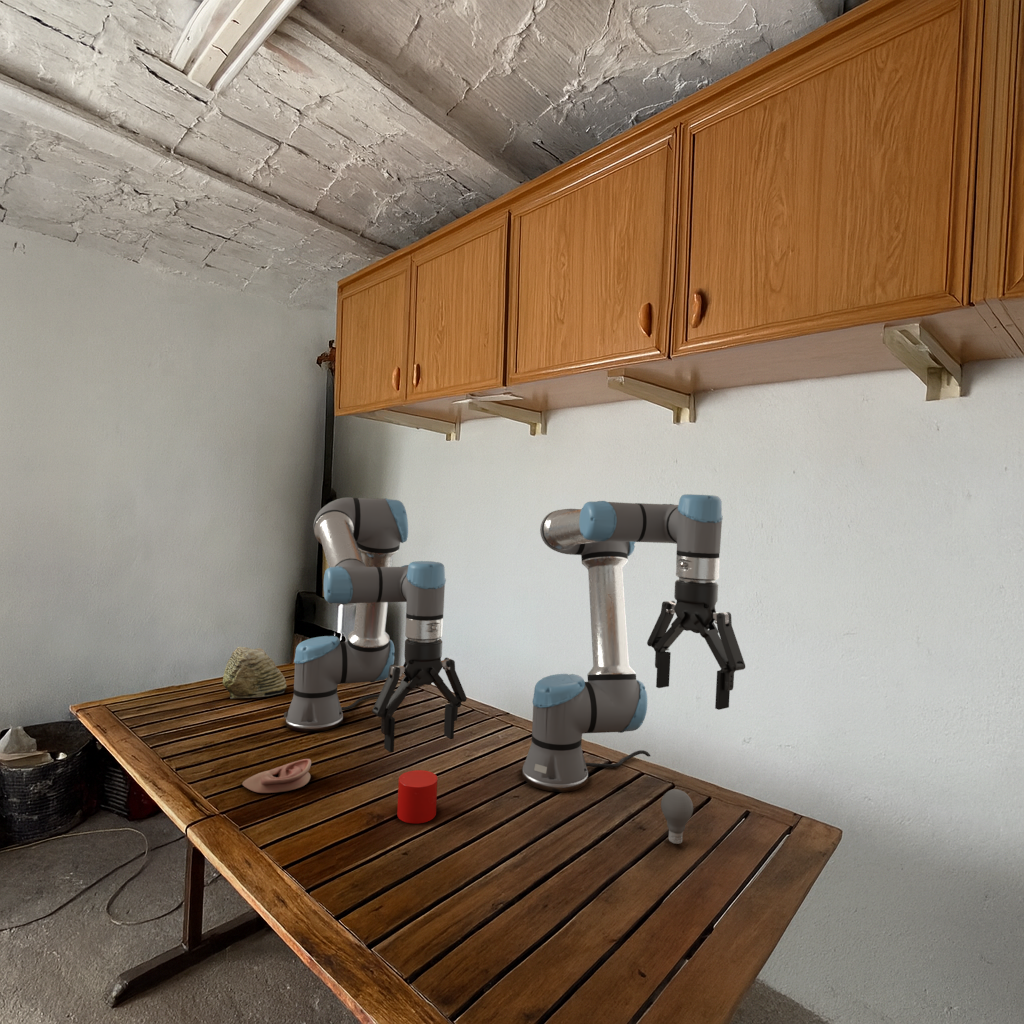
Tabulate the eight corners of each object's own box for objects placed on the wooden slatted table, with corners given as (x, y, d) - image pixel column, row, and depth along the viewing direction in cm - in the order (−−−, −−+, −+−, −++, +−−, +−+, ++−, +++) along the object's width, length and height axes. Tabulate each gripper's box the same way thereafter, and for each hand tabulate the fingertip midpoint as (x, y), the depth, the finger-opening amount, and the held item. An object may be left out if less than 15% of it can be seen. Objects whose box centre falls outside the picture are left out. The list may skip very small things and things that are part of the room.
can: (390, 819, 126) (391, 782, 126) (408, 801, 133) (409, 767, 133) (426, 826, 124) (427, 789, 123) (442, 808, 131) (443, 773, 131)
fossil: (218, 695, 195) (220, 647, 195) (278, 685, 208) (279, 640, 207) (228, 703, 189) (230, 653, 188) (289, 692, 201) (290, 645, 201)
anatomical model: (234, 771, 135) (265, 750, 146) (233, 789, 135) (265, 767, 146) (290, 779, 132) (318, 757, 143) (290, 798, 132) (317, 775, 143)
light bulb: (655, 834, 124) (657, 783, 124) (684, 834, 125) (687, 783, 124) (665, 851, 118) (667, 798, 118) (696, 851, 119) (698, 798, 118)
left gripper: (374, 648, 117) (369, 762, 117) (485, 636, 132) (481, 737, 132) (357, 640, 123) (353, 749, 124) (466, 629, 138) (462, 726, 138)
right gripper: (632, 572, 123) (627, 681, 123) (742, 590, 102) (736, 721, 102) (659, 571, 127) (654, 676, 127) (771, 588, 106) (764, 714, 106)
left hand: (419, 743), depth 128 cm, fingers open, 13 cm apart
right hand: (690, 697), depth 115 cm, fingers open, 13 cm apart
